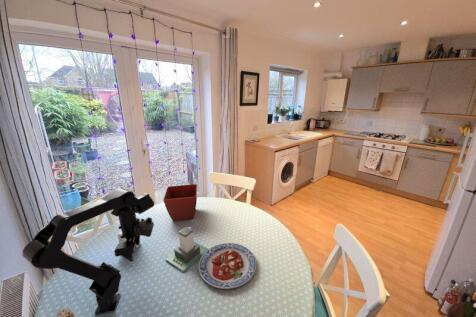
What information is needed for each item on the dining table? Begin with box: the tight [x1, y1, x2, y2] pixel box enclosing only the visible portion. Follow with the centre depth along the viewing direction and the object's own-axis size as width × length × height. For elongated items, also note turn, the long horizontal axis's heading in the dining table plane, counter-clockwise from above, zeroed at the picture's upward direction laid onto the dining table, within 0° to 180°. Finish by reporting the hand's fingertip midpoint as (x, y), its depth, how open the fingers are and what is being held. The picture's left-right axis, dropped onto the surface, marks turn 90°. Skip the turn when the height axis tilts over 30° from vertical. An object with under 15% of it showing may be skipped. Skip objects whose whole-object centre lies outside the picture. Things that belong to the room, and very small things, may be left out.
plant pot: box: [162, 183, 198, 222], centre depth 130 cm, size 19×19×17 cm
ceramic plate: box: [198, 242, 257, 290], centre depth 92 cm, size 26×26×3 cm
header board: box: [165, 240, 209, 273], centre depth 98 cm, size 16×12×4 cm
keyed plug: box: [177, 226, 194, 254], centre depth 97 cm, size 5×4×13 cm
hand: (134, 252), depth 83 cm, fingers open, 9 cm apart
